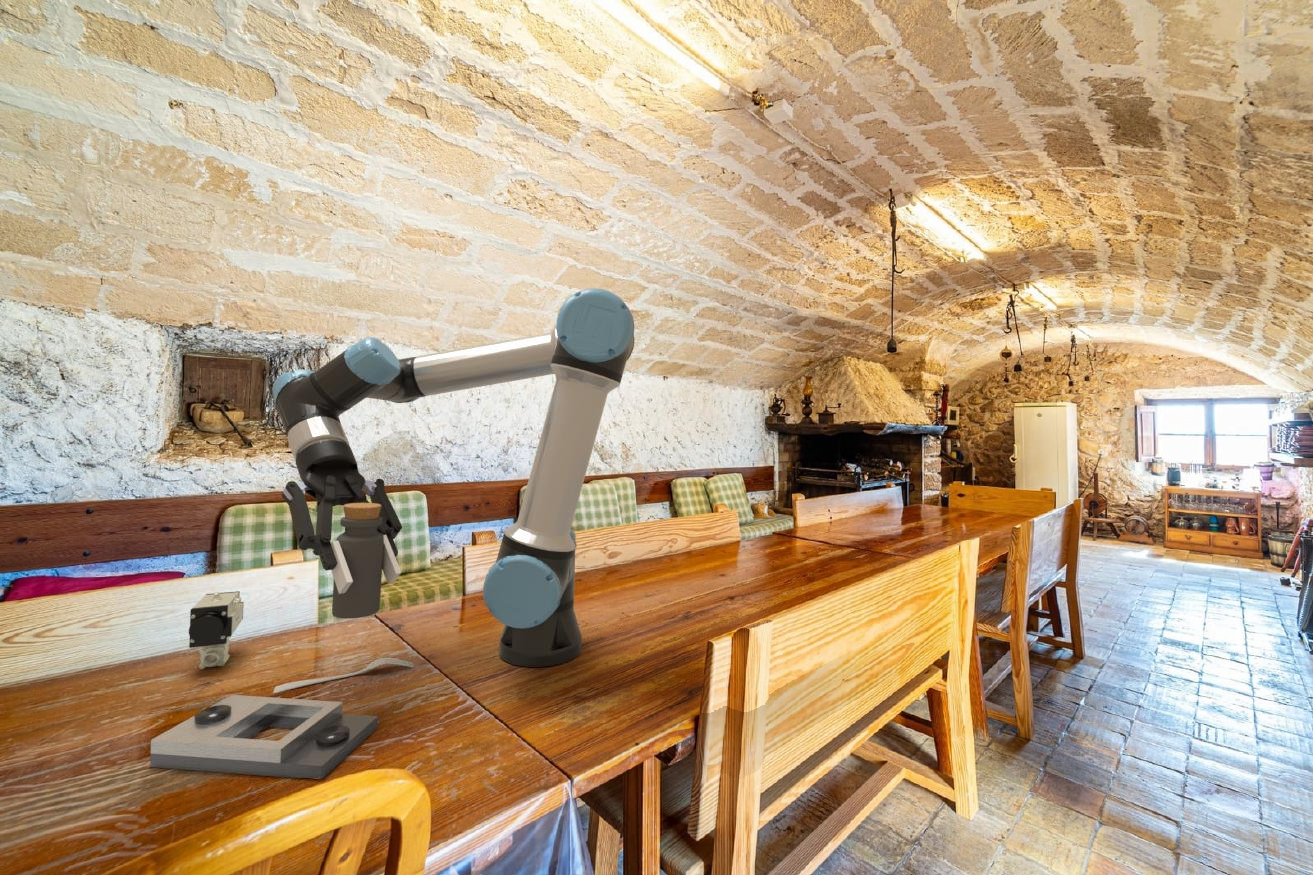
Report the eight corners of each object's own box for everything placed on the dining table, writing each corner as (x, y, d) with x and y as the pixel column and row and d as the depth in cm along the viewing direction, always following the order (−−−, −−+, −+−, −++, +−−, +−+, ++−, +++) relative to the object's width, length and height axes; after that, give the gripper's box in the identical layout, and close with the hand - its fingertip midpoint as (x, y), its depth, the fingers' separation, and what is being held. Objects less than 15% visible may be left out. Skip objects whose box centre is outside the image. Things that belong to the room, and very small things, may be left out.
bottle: (345, 604, 77) (351, 501, 77) (386, 605, 77) (393, 503, 77) (322, 618, 71) (329, 506, 71) (367, 620, 71) (374, 509, 71)
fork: (271, 704, 83) (269, 686, 82) (416, 663, 93) (415, 648, 93) (269, 712, 80) (267, 694, 80) (418, 669, 91) (417, 654, 91)
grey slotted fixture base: (377, 728, 72) (378, 700, 72) (321, 780, 61) (322, 747, 61) (230, 717, 73) (231, 690, 73) (150, 767, 62) (151, 734, 62)
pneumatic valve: (185, 681, 83) (187, 604, 83) (206, 653, 94) (208, 585, 94) (229, 674, 86) (232, 600, 86) (245, 648, 96) (247, 582, 96)
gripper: (375, 468, 91) (423, 584, 81) (241, 470, 75) (282, 614, 66) (393, 439, 88) (446, 556, 78) (258, 435, 72) (303, 580, 63)
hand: (371, 582), depth 72 cm, fingers closed on bottle, 6 cm apart
